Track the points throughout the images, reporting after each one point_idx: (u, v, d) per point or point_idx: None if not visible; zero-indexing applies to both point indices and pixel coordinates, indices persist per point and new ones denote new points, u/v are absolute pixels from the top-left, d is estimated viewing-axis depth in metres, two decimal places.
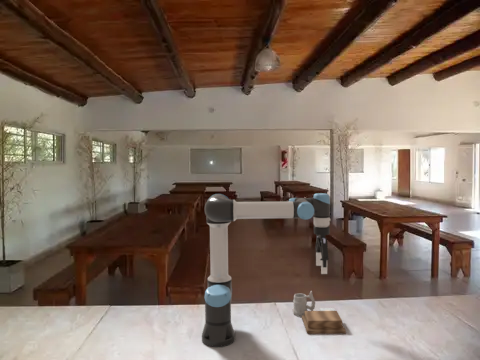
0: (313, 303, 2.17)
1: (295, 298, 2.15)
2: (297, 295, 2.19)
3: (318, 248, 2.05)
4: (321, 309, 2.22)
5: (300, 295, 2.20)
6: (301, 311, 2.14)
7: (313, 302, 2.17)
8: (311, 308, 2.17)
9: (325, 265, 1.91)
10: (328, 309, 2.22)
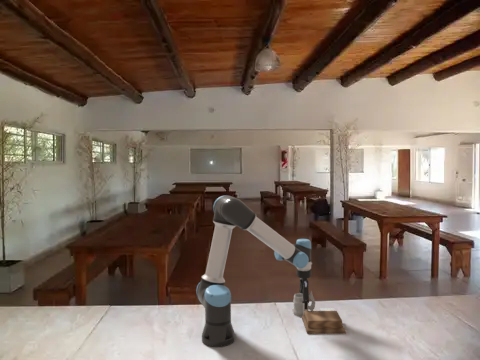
0: (313, 303, 2.17)
1: (295, 298, 2.15)
2: (297, 295, 2.19)
3: (301, 290, 2.21)
4: (321, 309, 2.22)
5: (300, 295, 2.20)
6: (301, 311, 2.14)
7: (313, 302, 2.17)
8: (311, 308, 2.17)
9: (306, 307, 2.10)
10: (328, 309, 2.22)
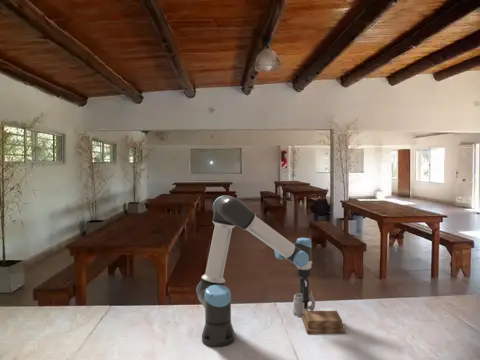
0: (313, 303, 2.17)
1: (295, 298, 2.15)
2: (297, 295, 2.19)
3: (302, 290, 2.20)
4: (321, 309, 2.22)
5: (300, 295, 2.19)
6: (301, 311, 2.14)
7: (313, 302, 2.17)
8: (311, 308, 2.17)
9: (306, 307, 2.11)
10: (328, 309, 2.22)
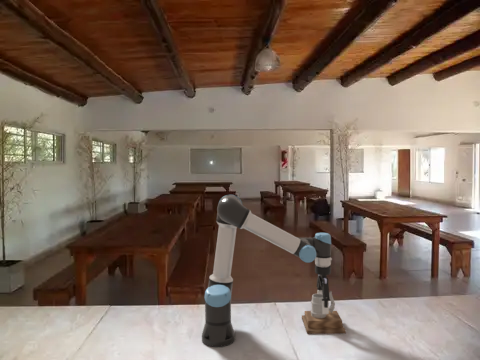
0: (333, 304, 2.02)
1: (313, 299, 2.00)
2: (315, 295, 2.04)
3: (319, 286, 2.07)
4: None
5: (318, 295, 2.04)
6: (320, 313, 1.99)
7: (333, 303, 2.02)
8: (330, 309, 2.02)
9: (326, 305, 1.93)
10: None
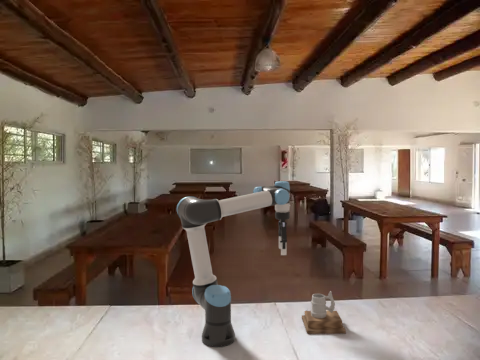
0: (333, 304, 2.02)
1: (313, 299, 2.00)
2: (315, 295, 2.04)
3: (280, 232, 2.21)
4: None
5: (318, 295, 2.04)
6: (320, 313, 1.99)
7: (333, 303, 2.02)
8: (330, 309, 2.02)
9: (284, 247, 2.08)
10: None
